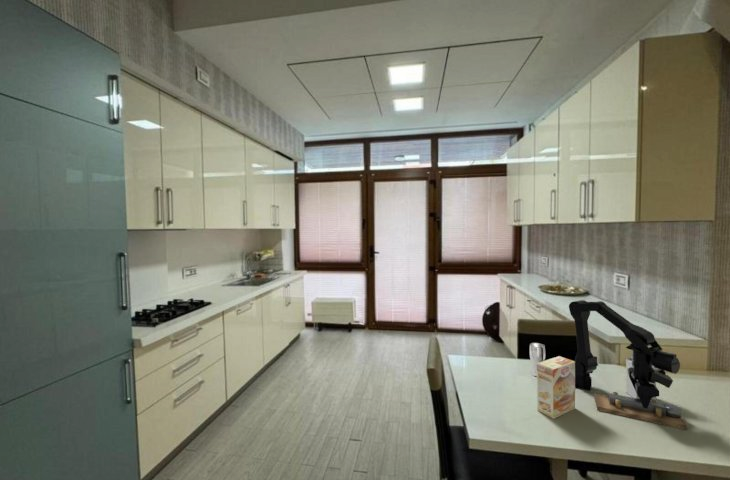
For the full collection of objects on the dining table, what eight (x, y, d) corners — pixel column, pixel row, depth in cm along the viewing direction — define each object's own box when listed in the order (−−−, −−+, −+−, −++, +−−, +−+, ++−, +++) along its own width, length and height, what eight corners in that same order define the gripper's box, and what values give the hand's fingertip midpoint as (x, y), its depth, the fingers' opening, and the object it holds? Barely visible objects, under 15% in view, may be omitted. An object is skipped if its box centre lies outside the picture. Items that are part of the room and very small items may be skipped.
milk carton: (656, 402, 130) (656, 357, 130) (636, 401, 132) (636, 356, 131) (644, 393, 137) (644, 350, 137) (626, 392, 139) (625, 350, 138)
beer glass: (543, 372, 160) (543, 343, 160) (546, 378, 154) (546, 348, 153) (528, 370, 162) (528, 342, 162) (531, 376, 156) (530, 346, 156)
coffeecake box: (554, 419, 121) (553, 369, 120) (536, 410, 127) (535, 362, 127) (576, 408, 128) (575, 361, 127) (558, 400, 134) (558, 355, 134)
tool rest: (597, 410, 126) (597, 399, 126) (593, 396, 136) (593, 386, 136) (686, 429, 113) (686, 417, 113) (675, 412, 123) (675, 401, 123)
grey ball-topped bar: (609, 404, 127) (609, 397, 127) (608, 399, 131) (608, 392, 131) (682, 420, 116) (682, 412, 116) (678, 413, 120) (678, 405, 120)
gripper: (678, 377, 111) (678, 420, 111) (662, 358, 127) (662, 396, 127) (637, 370, 117) (637, 412, 117) (627, 353, 133) (627, 389, 133)
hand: (642, 402), depth 123 cm, fingers open, 9 cm apart
